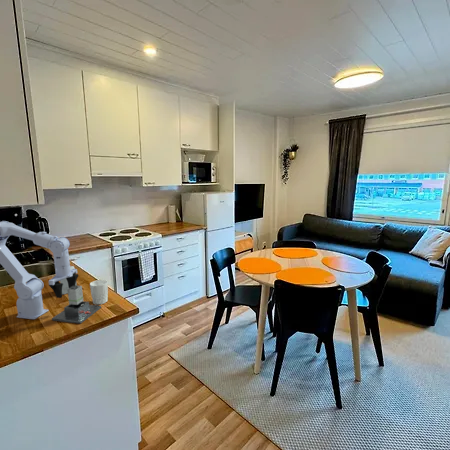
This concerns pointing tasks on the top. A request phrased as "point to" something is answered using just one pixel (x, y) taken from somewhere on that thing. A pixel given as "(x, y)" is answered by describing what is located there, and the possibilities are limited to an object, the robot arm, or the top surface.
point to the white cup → (99, 291)
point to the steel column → (75, 295)
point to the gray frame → (76, 312)
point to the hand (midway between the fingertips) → (65, 293)
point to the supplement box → (66, 283)
